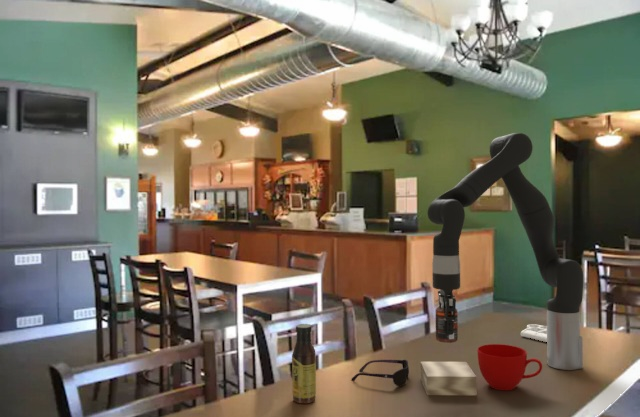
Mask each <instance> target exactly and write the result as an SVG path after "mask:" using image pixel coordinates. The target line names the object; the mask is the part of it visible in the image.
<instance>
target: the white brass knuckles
mask: <svg viewBox="0 0 640 417" xmlns="http://www.w3.org/2000/svg"><path fill="white" fill-rule="evenodd" d="M520 336H521V337H523V338H527V339H530V338H531V339H532V340H534V339H535V340H534V341H538V340H539V342H542V341H543V343H546V342H547V325H542V324H541V325H540V324H535V323H534V324H533V323H532V324H527V325H526V328H525V329H523V330H521V331H520Z"/></svg>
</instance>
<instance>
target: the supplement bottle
mask: <svg viewBox="0 0 640 417" xmlns="http://www.w3.org/2000/svg"><path fill="white" fill-rule="evenodd" d="M439 305H440V306H437V307H436V308H435V339H436V341H438V342H439V343H446V344H448V343H450V344H452V343H456V342H457V341H458V339H459V338H458V335H459V334H458V332H459V331H458V329H459V328H458V324H459V323H458V319H459V318H458V309H457V308H455V317H456V319H455V320H454V321H453V334H452V335H446V334H445V321H444V313H443V312H442V308H441V302H440V300H439ZM445 309H446V308H445ZM448 315H451V312H448Z"/></svg>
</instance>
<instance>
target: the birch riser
mask: <svg viewBox="0 0 640 417" xmlns="http://www.w3.org/2000/svg"><path fill="white" fill-rule="evenodd" d="M477 379H478V378H477V375H476V374H475V373H474V371H473V370H472V368H471V367H470V365H469V363H467V361H420V380H421V383H422V386H423V388H424V390H425V393H426V395H427V396H477V395H478V394H477V390H478V389H477V388H478V387H477V384H478V383H477V382H478V381H477Z"/></svg>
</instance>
